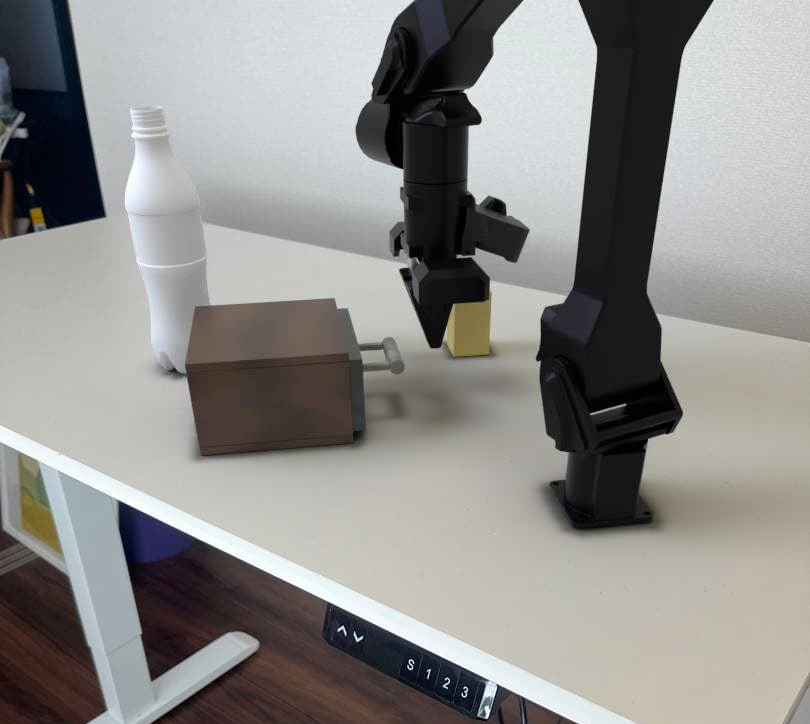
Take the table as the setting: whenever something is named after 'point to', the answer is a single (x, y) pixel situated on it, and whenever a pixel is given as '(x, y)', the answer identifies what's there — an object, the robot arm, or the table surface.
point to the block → (469, 328)
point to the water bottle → (166, 236)
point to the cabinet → (269, 376)
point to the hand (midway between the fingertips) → (434, 347)
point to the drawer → (365, 365)
